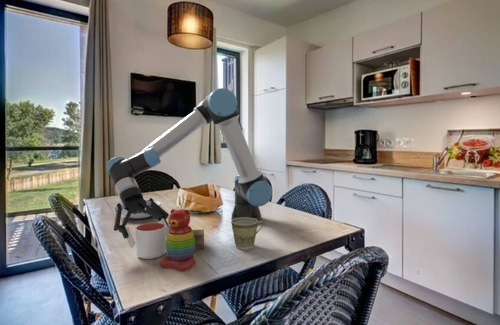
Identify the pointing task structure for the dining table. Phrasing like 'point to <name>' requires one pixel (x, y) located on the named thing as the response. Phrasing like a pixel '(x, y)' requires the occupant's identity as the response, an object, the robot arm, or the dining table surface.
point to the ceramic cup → (245, 232)
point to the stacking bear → (179, 242)
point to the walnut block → (199, 240)
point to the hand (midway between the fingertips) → (151, 240)
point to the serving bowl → (139, 215)
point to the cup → (150, 240)
